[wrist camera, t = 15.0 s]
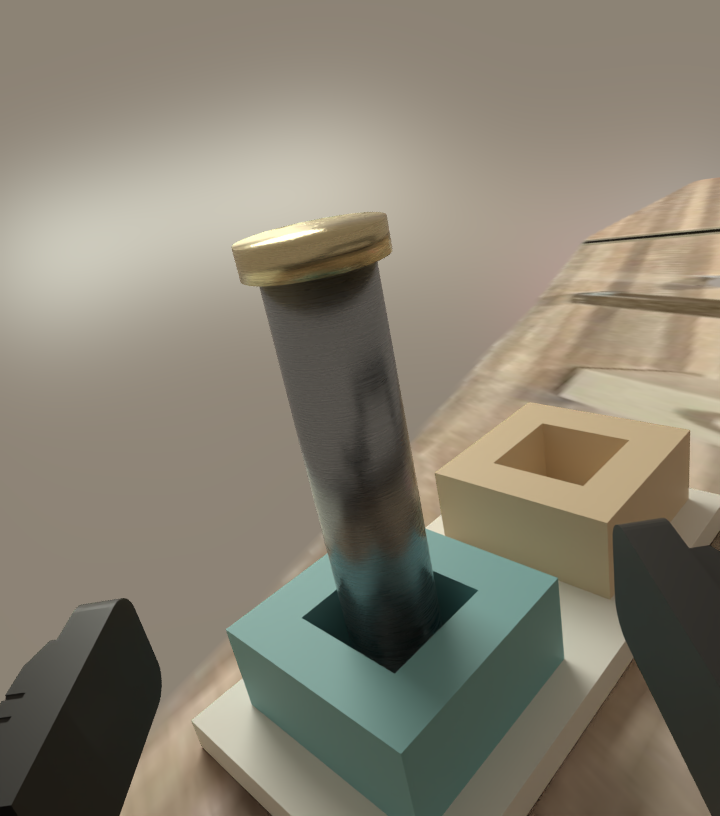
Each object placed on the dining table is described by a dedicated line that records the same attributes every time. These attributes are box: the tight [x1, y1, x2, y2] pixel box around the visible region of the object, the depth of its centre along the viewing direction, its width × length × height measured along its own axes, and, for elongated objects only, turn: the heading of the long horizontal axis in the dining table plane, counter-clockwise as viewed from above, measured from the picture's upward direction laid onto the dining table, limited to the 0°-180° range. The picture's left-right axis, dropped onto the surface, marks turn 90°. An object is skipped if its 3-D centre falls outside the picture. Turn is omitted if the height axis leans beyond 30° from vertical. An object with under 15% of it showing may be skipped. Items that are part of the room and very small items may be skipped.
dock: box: [191, 402, 720, 816], centre depth 29 cm, size 25×12×6 cm, turn 135°
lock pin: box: [232, 212, 443, 674], centre depth 22 cm, size 5×5×18 cm
